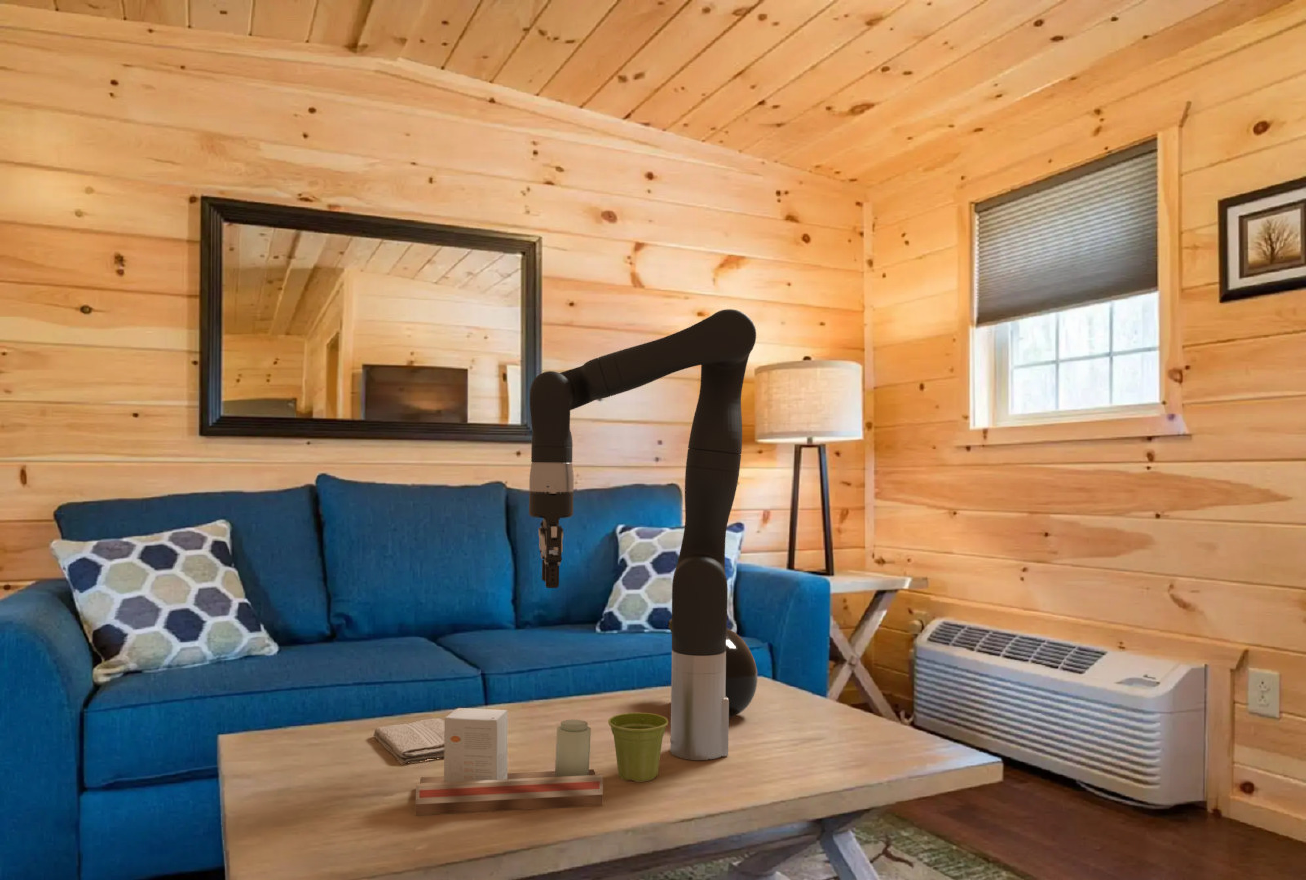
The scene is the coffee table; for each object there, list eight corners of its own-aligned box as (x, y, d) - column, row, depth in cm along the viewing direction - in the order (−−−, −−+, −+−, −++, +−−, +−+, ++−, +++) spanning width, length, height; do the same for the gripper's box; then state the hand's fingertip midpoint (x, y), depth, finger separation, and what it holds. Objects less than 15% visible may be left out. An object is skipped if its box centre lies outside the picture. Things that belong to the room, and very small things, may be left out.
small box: (508, 780, 138) (509, 709, 138) (496, 793, 132) (497, 719, 132) (456, 777, 139) (457, 706, 139) (442, 790, 133) (444, 716, 134)
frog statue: (690, 750, 175) (642, 682, 197) (763, 737, 181) (708, 673, 203) (699, 660, 170) (648, 601, 192) (774, 650, 176) (716, 594, 198)
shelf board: (593, 778, 143) (593, 752, 143) (602, 805, 132) (603, 777, 133) (420, 787, 139) (421, 760, 139) (415, 815, 128) (415, 786, 128)
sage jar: (583, 776, 140) (586, 717, 140) (592, 787, 135) (594, 726, 136) (551, 778, 138) (553, 719, 139) (558, 789, 134) (561, 728, 134)
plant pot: (623, 790, 139) (624, 731, 139) (597, 770, 147) (598, 716, 147) (678, 780, 143) (679, 724, 143) (650, 762, 151) (651, 709, 152)
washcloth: (401, 769, 148) (402, 749, 148) (370, 739, 163) (371, 722, 163) (472, 757, 155) (472, 738, 155) (436, 730, 170) (436, 713, 170)
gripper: (527, 487, 165) (525, 579, 164) (531, 490, 151) (530, 590, 150) (569, 488, 166) (568, 578, 166) (577, 490, 152) (576, 589, 152)
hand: (550, 584), depth 158 cm, fingers open, 8 cm apart
